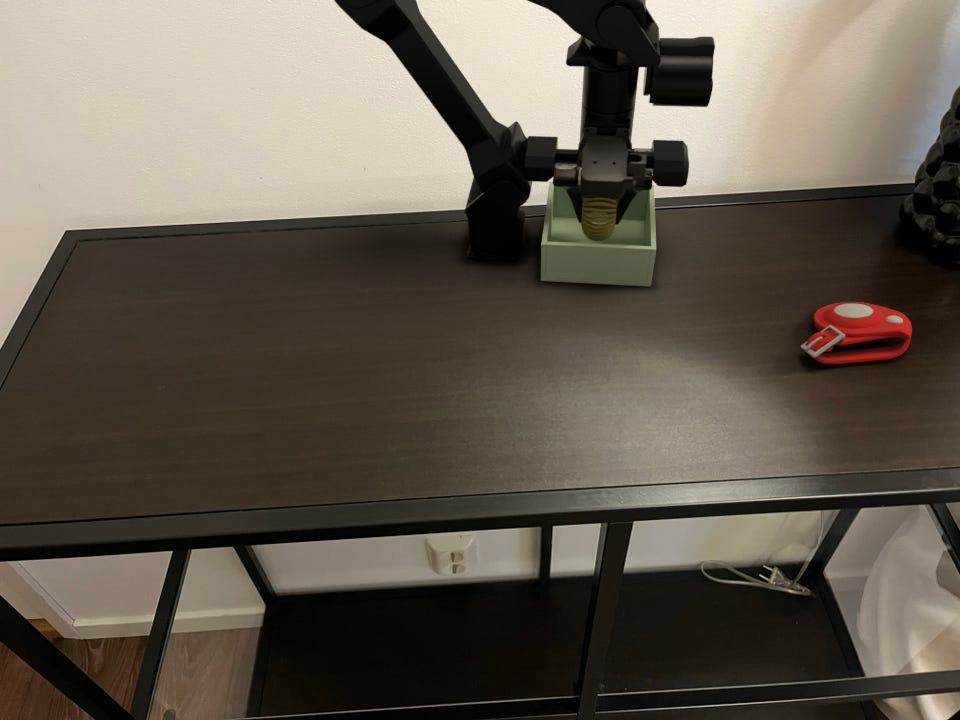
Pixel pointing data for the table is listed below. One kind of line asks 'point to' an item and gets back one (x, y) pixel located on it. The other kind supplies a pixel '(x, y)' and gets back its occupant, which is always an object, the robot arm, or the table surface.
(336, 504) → the table surface
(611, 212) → the sculpture
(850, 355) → the tracker holder
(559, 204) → the bin
